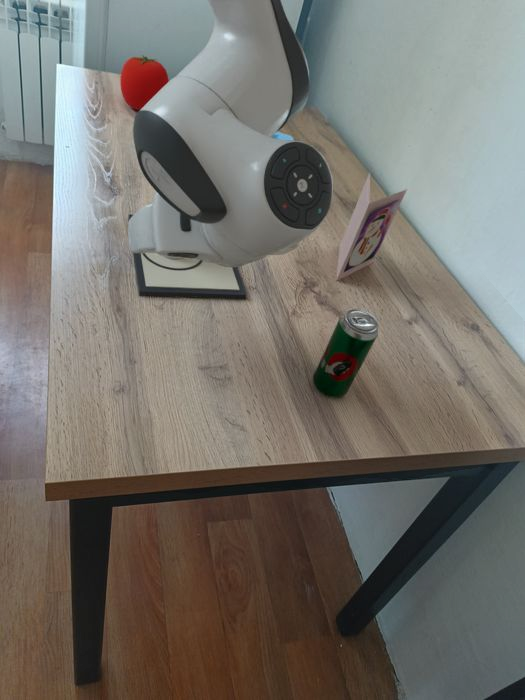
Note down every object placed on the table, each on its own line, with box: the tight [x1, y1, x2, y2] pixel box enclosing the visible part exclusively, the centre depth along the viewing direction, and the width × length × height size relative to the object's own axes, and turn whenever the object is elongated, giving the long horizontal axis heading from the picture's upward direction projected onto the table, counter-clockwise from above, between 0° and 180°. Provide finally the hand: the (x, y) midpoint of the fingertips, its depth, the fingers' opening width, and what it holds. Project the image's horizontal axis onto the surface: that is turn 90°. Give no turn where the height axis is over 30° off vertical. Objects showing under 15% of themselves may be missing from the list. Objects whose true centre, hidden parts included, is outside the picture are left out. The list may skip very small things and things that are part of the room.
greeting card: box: [336, 172, 408, 281], centre depth 91 cm, size 11×7×15 cm, turn 136°
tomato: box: [119, 54, 170, 111], centre depth 119 cm, size 10×11×11 cm
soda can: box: [312, 308, 379, 398], centre depth 69 cm, size 5×5×12 cm
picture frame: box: [127, 213, 248, 300], centre depth 86 cm, size 16×20×1 cm
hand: (198, 246), depth 71 cm, fingers open, 8 cm apart
